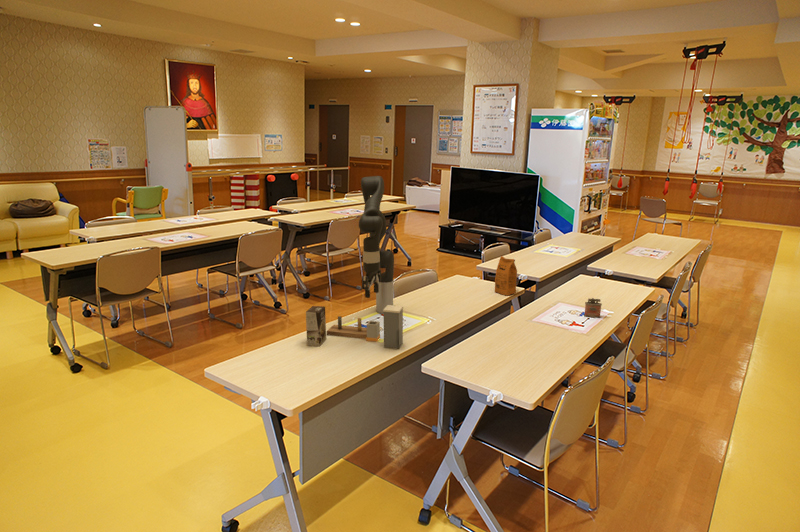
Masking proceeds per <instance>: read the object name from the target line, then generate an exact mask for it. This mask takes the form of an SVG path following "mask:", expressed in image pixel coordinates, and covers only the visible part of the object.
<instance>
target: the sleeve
mask: <svg viewBox="0 0 800 532" xmlns="http://www.w3.org/2000/svg"><path fill="white" fill-rule="evenodd" d="M380 322H381V321H377V320H369V321H368V322H367V323H366V328H367V337H366V339H365V341H366V342H379V340H380V339H379V338H381V334H380V333H381V332H380V331H381V330H380V329H381V327H380V326H381V323H380ZM378 339H379V340H378Z"/></svg>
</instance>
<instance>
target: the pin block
mask: <svg viewBox="0 0 800 532" xmlns="http://www.w3.org/2000/svg"><path fill="white" fill-rule="evenodd" d="M342 321H343V319H342V315H339V316H337V324H333V325H332V326H331V327H330V328H328V329H326V336H333V337H345V338H354V339H362V340H366V337H367V327H363V326H362V323H363V322H362V318H361V317H358V318H357V326H351V325H343V323H342Z"/></svg>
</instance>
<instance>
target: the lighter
mask: <svg viewBox="0 0 800 532" xmlns="http://www.w3.org/2000/svg"><path fill="white" fill-rule="evenodd" d="M601 300H602V299H601V298H594V297H591V298H588V299H587V301H585V307H584V314H583V316H584V317H585V318H591V319H600V318H601V310H602V305H603V304H602V303H601Z"/></svg>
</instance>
